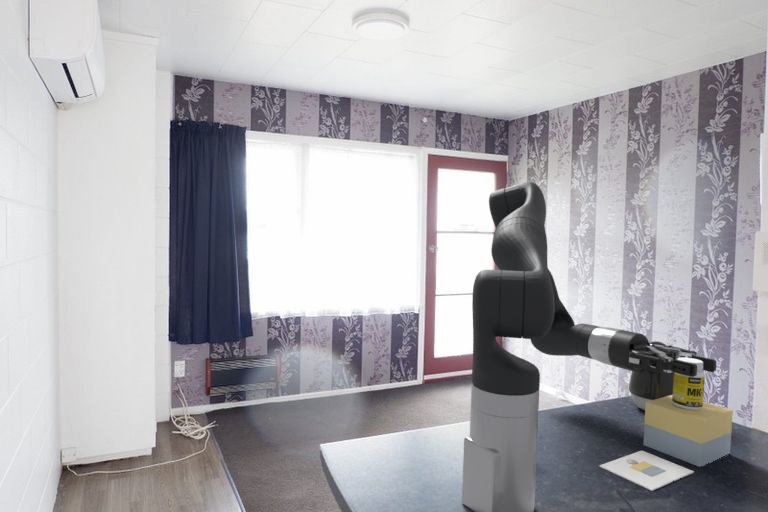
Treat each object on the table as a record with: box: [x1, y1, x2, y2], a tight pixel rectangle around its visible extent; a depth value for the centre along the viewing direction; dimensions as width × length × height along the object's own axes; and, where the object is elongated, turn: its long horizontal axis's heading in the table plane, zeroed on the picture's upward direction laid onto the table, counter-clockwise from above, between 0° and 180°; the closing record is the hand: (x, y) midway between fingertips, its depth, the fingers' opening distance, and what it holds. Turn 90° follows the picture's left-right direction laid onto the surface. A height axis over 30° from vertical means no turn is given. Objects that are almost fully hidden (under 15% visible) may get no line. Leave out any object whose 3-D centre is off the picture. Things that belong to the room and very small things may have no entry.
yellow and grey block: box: [643, 395, 734, 468], centre depth 93 cm, size 10×10×8 cm
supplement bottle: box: [672, 357, 706, 410], centre depth 92 cm, size 5×5×8 cm
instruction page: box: [599, 450, 695, 492], centre depth 85 cm, size 12×9×1 cm
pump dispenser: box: [628, 340, 674, 411], centre depth 113 cm, size 10×10×15 cm
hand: (705, 368), depth 90 cm, fingers open, 6 cm apart
